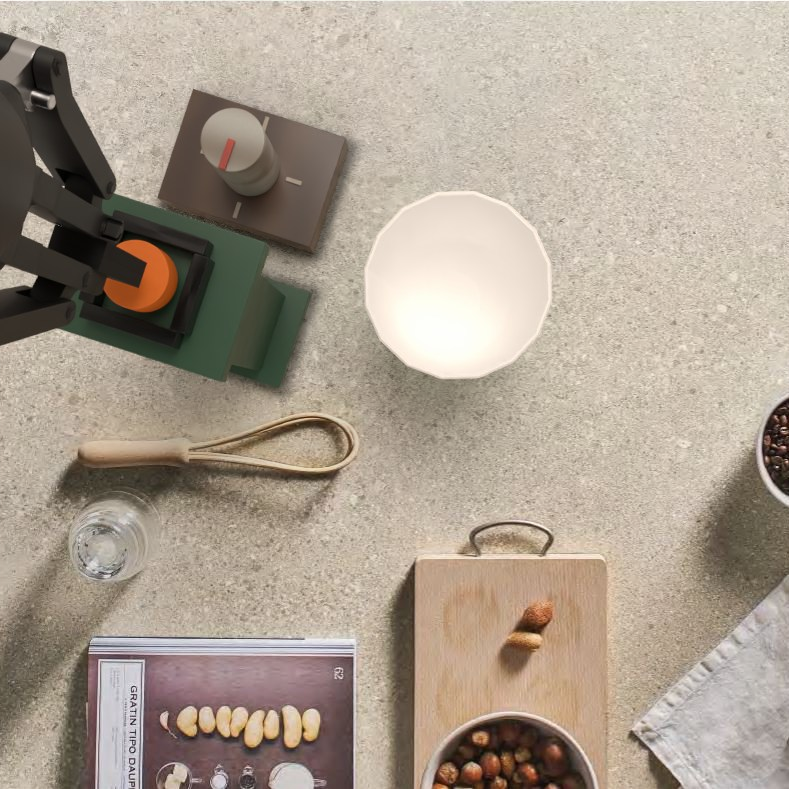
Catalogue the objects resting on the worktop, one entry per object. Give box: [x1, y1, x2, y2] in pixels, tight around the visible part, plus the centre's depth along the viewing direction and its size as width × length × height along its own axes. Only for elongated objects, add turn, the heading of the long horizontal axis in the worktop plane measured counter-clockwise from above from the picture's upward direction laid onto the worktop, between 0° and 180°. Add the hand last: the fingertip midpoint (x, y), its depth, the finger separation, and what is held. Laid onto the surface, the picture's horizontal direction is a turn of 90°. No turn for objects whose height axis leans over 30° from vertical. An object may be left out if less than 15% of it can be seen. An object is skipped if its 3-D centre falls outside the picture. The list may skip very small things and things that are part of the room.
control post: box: [57, 192, 313, 390], centre depth 66 cm, size 12×9×26 cm
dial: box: [201, 108, 280, 196], centre depth 72 cm, size 5×5×8 cm
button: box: [104, 240, 178, 312], centre depth 52 cm, size 4×4×2 cm
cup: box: [363, 190, 553, 380], centre depth 71 cm, size 14×14×16 cm
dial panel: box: [157, 88, 349, 254], centre depth 77 cm, size 14×10×3 cm
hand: (119, 267), depth 49 cm, fingers closed
